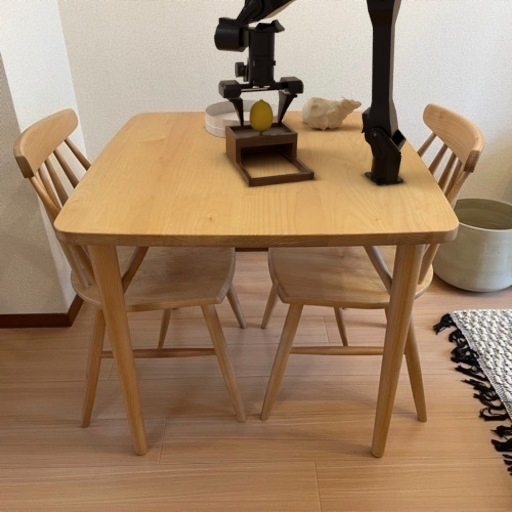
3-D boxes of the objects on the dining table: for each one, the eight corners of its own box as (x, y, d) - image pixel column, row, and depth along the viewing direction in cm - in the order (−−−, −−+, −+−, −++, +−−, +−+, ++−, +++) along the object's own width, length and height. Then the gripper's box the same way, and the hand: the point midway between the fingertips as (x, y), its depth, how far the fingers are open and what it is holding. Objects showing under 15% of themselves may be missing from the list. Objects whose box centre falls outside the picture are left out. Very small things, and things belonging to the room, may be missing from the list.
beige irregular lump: (289, 134, 138) (319, 111, 125) (288, 111, 140) (318, 85, 127) (332, 144, 145) (365, 123, 132) (331, 122, 147) (363, 99, 134)
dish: (213, 142, 126) (212, 123, 124) (199, 119, 144) (198, 102, 142) (292, 135, 131) (293, 117, 129) (269, 114, 150) (269, 97, 147)
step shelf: (313, 179, 106) (316, 148, 102) (248, 186, 102) (248, 155, 98) (282, 148, 123) (283, 121, 119) (225, 153, 119) (225, 125, 116)
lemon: (273, 130, 116) (274, 96, 112) (271, 137, 111) (272, 102, 107) (250, 129, 116) (250, 96, 112) (248, 136, 112) (247, 102, 107)
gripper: (289, 46, 113) (286, 113, 122) (211, 49, 109) (214, 118, 117) (306, 54, 104) (302, 125, 112) (223, 58, 100) (225, 132, 108)
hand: (260, 124), depth 113 cm, fingers open, 9 cm apart
